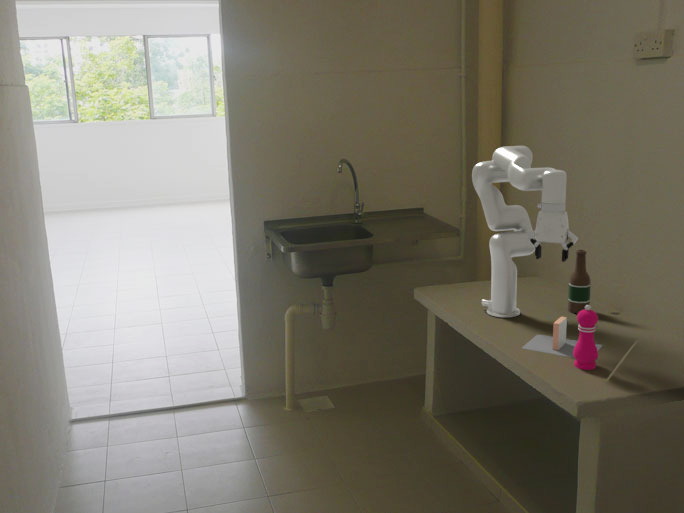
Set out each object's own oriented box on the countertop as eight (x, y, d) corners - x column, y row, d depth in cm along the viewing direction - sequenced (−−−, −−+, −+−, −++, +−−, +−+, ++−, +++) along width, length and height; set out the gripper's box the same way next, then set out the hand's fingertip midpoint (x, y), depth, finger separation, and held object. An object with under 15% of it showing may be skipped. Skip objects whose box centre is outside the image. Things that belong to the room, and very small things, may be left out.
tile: (552, 349, 226) (553, 323, 224) (560, 342, 232) (561, 316, 230) (558, 350, 225) (559, 324, 223) (565, 343, 231) (567, 317, 229)
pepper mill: (568, 363, 215) (571, 302, 210) (591, 362, 215) (594, 300, 211) (578, 372, 208) (581, 309, 203) (601, 371, 208) (605, 307, 204)
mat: (521, 349, 228) (521, 348, 227) (537, 335, 240) (537, 334, 240) (589, 362, 215) (589, 360, 215) (602, 346, 228) (602, 345, 228)
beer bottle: (589, 309, 269) (592, 248, 263) (589, 315, 261) (592, 253, 256) (568, 307, 271) (570, 248, 266) (567, 313, 264) (570, 252, 259)
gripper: (523, 207, 229) (522, 259, 233) (576, 211, 220) (574, 264, 223) (531, 204, 235) (529, 254, 239) (583, 207, 226) (580, 260, 229)
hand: (551, 259), depth 231 cm, fingers open, 8 cm apart
